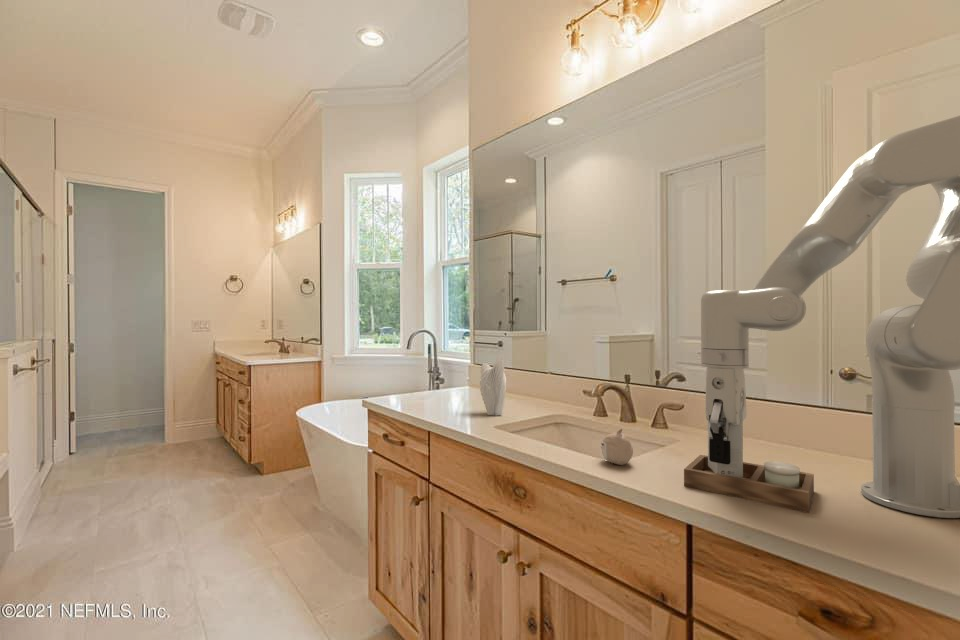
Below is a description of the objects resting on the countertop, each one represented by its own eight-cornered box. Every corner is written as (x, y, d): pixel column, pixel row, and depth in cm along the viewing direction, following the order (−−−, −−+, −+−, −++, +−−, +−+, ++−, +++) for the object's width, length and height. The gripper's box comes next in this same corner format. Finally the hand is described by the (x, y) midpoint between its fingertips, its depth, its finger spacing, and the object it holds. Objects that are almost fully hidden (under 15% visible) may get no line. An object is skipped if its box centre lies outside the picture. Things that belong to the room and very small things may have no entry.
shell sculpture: (481, 412, 147) (480, 357, 147) (506, 412, 146) (505, 357, 146) (480, 417, 139) (479, 359, 139) (506, 417, 138) (506, 359, 138)
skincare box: (744, 478, 78) (743, 409, 78) (717, 477, 79) (716, 408, 79) (731, 467, 84) (731, 402, 84) (707, 466, 85) (706, 402, 85)
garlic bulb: (597, 465, 92) (596, 426, 92) (605, 456, 98) (605, 420, 98) (630, 470, 89) (629, 429, 89) (637, 461, 95) (636, 423, 95)
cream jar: (801, 491, 76) (801, 465, 76) (798, 500, 72) (798, 473, 72) (766, 484, 79) (766, 459, 79) (762, 492, 75) (761, 467, 75)
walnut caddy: (813, 491, 77) (813, 474, 77) (808, 512, 69) (808, 493, 69) (700, 469, 89) (700, 454, 89) (684, 485, 80) (683, 469, 80)
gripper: (738, 363, 72) (738, 474, 72) (756, 356, 85) (757, 450, 85) (688, 361, 77) (688, 465, 77) (713, 354, 90) (713, 443, 90)
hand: (724, 456), depth 81 cm, fingers closed on skincare box, 7 cm apart
